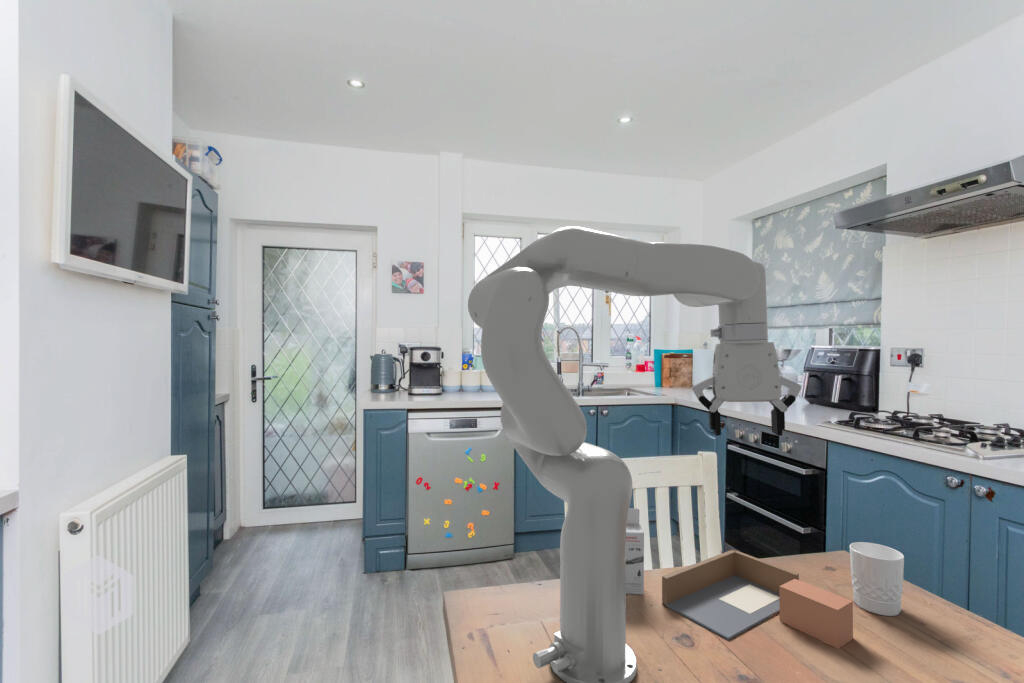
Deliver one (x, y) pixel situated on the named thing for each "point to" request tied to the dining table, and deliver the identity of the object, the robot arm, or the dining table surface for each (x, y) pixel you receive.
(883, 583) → the white cup
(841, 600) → the rust block
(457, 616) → the dining table surface
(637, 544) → the ink box
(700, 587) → the arena
